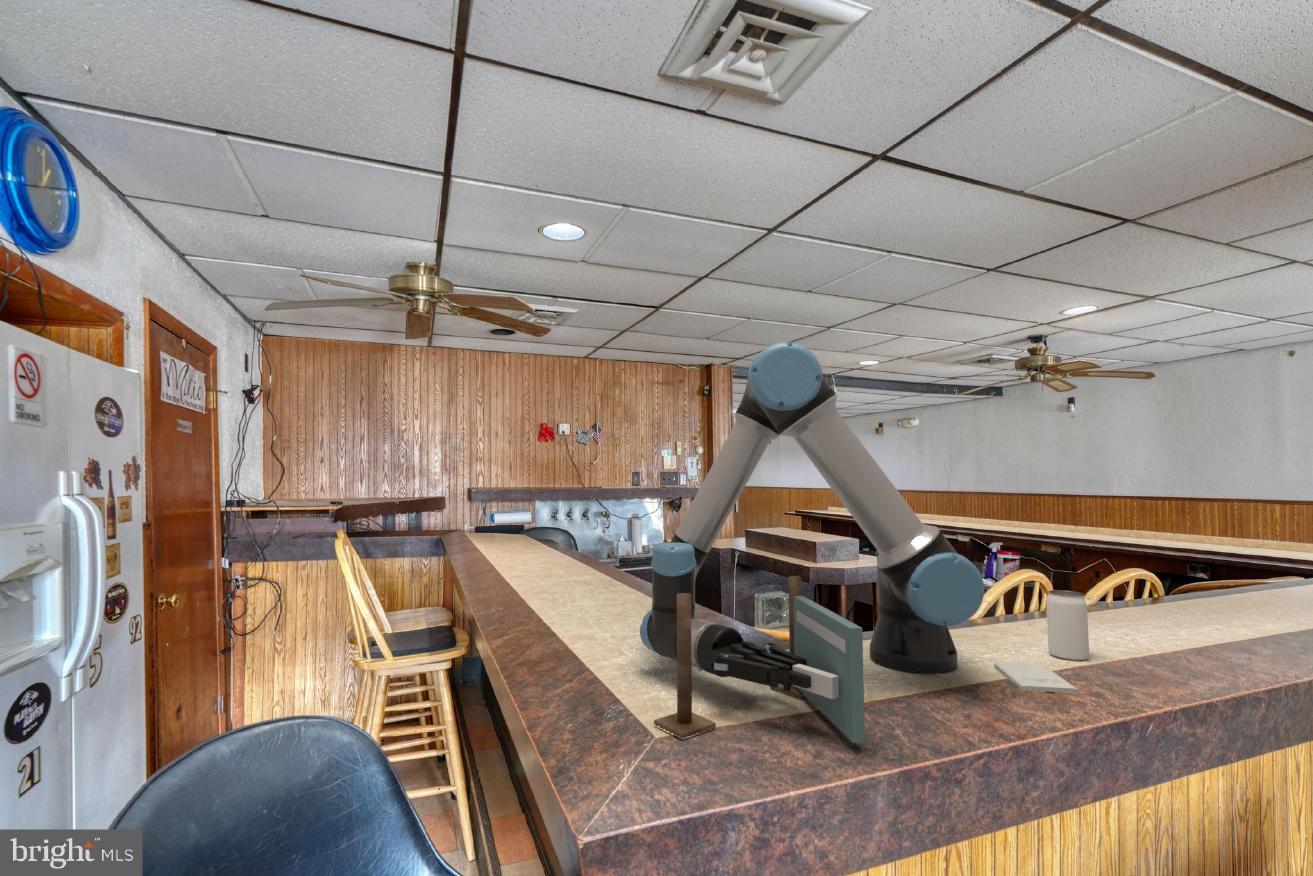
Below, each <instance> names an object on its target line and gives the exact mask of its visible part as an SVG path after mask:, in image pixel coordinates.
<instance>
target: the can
mask: <svg viewBox="0 0 1313 876" xmlns="http://www.w3.org/2000/svg"><path fill="white" fill-rule="evenodd" d="M1046 620H1047V621H1046V624H1047V643H1048V644H1047V647H1048V653H1049V654H1050V656H1052V657H1054V658H1056V659H1060V660H1066V661H1073V662H1085V661H1087V660H1088V659H1089V658H1090V645H1089V643H1090V642H1089V622H1088V603H1087V601H1086V600H1085V598H1084V593H1082V592H1078V591H1071V590H1065V589H1064V590H1063V589H1062V590H1061V589H1054V590H1053V589H1052V590H1048V595H1047V598H1046Z"/></svg>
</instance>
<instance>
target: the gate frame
mask: <svg viewBox="0 0 1313 876" xmlns="http://www.w3.org/2000/svg"><path fill="white" fill-rule="evenodd" d="M793 596H802V577H801V576H799V575H789V576H788V622H789V623H788V625H789V626H788V627H789V629H788V634H789V636H788V637H789V652H791V653H793V654H794V603H793ZM692 669H693V666H692V655H691V594H689V593H678V594H677V660H676V688H677V689H676V691H677V692H676V693H677V694H676V696H677V697H676V700H677V701H676V706H677V707H676V710H677V712H676V713H675V712H674V713H672V714H669V715H665V716H663V717H659V718H656V719H653V725H654V724H655V725H656V726H659V727H660V728H662V729H665V730H666V731H669V732H670V733H673V734H674V735H677V736H679V737H680V738H685V737H687V736H691V735H694V734H696V733H701V732H704V731H708V730H709V729H714V728H716V725H717V723H716V722H714V721H712V720H711V719H708V718H706V717H704V716H702V715H699V714H697V713H695V712H693V705H692V704H693V701H692V700H693V699H692V697H693V696H692V695H693V694H692V693H693V691H692V690H693V689H692V688H693V686H692V685H693V683H692V682H693V681H692V679H693V677H692V673H693V672H692V671H693V670H692ZM769 689H770V690H772V691H775V692H778V693H781V694H784V695H786V696H789V695H790V697H791V696H792V698H794V697H795V699H797V700H801V699H805V698H807V697H806V696H805V695H804V694H803V693H802V692H801V691H800V690H799V689H798V688H797V687H795V686H793V684H791V690H790V691H783V685H782V684H779V683H778V687H771V686H769ZM716 729H717V728H716ZM714 730H715V729H714ZM708 732H709V731H708Z"/></svg>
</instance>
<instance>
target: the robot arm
mask: <svg viewBox="0 0 1313 876" xmlns="http://www.w3.org/2000/svg"><path fill="white" fill-rule="evenodd" d="M837 398H838V395H837V393H836V392H835V390H834V389H833V388H832V387H831V385H830V384H829V383H828V381H827V380H826V378H825V377H824V376H823V370H822V367H821V364H820V361H819V360H818V358H817V357H816V355H815V354H814V353H813V352H812V351H811V350H810V349H809V348H807V347H805V346H804V345H801V344H799V343H796V342H789V341H783V342H776V343H774V344H771V345H769V346H768V347H766V348H764V349H763V350H762V351H760V353H758V354H757V356H755V357H754V359H753V360H752V362H751V364H750V365H749V368H748V372H747V382H746V386H745V389H744V393H743V396H742V398H741V401H740V403H739V405H738V407H737V409H736V411H735V413H734V420H735V423H734V424H733V426H732V429H731V431H730V433H729V434H728V436H727V438H726V440H725V442H724V443H723V445H722V447H721V449H720V451H719V452H718V454H717V456H716V458H715V459H714V462H713V463H712V465H711V467H710V469H709V471H708V473H707V474H706V475H705V478H704V480H703V481H702V484H701V485H700V487H699V489H698V491H697V493H696V494H695V496H694V498H693V500H692V502H691V503H690V505H689V507H688V509H687V510H686V513H685V514H684V516H683V517H682V520H681V522H680V523H679V525H678V528H677V529H676V531H675V533H674V535H673V536H672V537H671V540H670V542H661V543H656V544H655V545H654V546H653V547H652V558H651V562H650V566H651V581H652V582H651V584H652V586H651V587H652V588H651V591H652V592H651V593H652V596H651V597H652V599H651V601H652V602H651V603H652V604H651V610H649V611H648V612H647V613H645V614H644V616H643V618H642V622H641V624H640V626H639V636H640V640H641V641H642V643H643V645H644V646H645V647H646V648H647V649H648V650H650V651H652V652H654V653H655V654H657V655H659V656H661V657H665V658H668V659H672V660H674V661H677V594H678V593H689V594H691V655H692V667H694V668H696V670H697V671H699V672H702V671H704V672H706V673H709V674H711V675H715V676H717V677H721V678H727V677H729V678H734V679H739V680H742V681H747V682H751V683H756V684H759V685H763V686H768V687H770V686H771V687H778V683H779V684H782V685H783V691H790V690H791V684H793V686H795V687H798V688H801V689H804V690H807V691H809V692H812V693H815V694H818V695H821V696H824V697H827V698H830V699H835V698H837V697H839V676H838V675H835V674H832V673H828V672H825V671H822V670H818V669H815V668H812V667H809V666H807V659H805V658H802V657H800V656H798V655H795V654H793V653H791V652H790V651H789V650H786V649H783V648H781V647H779V646H777V644H776V643H773V642H768V643H767V645H765V647H763V646H759V645H757V644H755V643H754V642H751V641H747V640H744V639H743V637H742V635H741V634H740V632H739V631H738V630H737V629H735V628H732V627H729V626H726V625H723V624H718V623H716V622H714V621H713V622H712V621H709V620H705V619H701V618H697V617H696V600H695V599H696V578H697V575H698V573H699V571H700V569H701V567H702V566H703V564H704V562H705V560H706V558H707V556H708V554H709V552H710V550H711V548H712V547H713V545H714V543H715V541H716V539H717V538H718V536H719V534H720V532H721V530H722V529H723V527H724V525H725V523H726V521H727V519H728V518H729V516H730V515H731V513H732V511H733V510H734V507H735V505H736V504H737V502H738V500H739V498H740V496H741V494H742V492H743V491H744V490H745V488H746V485H747V484H748V482H749V480H750V479H751V477H752V475H753V473H754V472H755V469H756V468H757V466H758V464H759V462H760V460H761V459H762V457H763V455H764V454H765V452H766V450H767V447H768V446H769V444H770V442H771V441H772V440H775V439H778V438H779V437H780V436H784V437H789V438H790V437H791V438H793V439H794V440H795V441H796V443H797V444H798V445H799V447H800V448H801V449H802V451H803V452H804V454H805V455H806V456H807V458H808V459H809V460H810V461H811V463H812V464H813V465H814V467H815V468H816V469H817V471H818V472H819V473H820V475H821V477H822V478H823V479H824V480H825V482H826V483H827V484H828V486H829V487H830V488H831V490H832V491H833V492H834V494H835V496H836V497H837V498H838V499H839V500H840V501H841V503H842V505H843V506H844V508H846V510H847V511H848V513H849V514H850V516H851V517H852V518H853V520H854V521H855V522H856V523H857V525H858V526H859V528H860V529H861V530H862V531H863V533H864V535H866V537H867V538H868V540H869V541H870V543H871V544H872V545H873V547H875V549H876V552H875V557H876V569H877V572H876V573H877V576H876V577H877V599H878V600H877V603H878V606H877V607H878V610H877V611H878V617H877V620H876V624H875V627H874V630H873V633H872V636H871V638H870V639H871V640H870V643H869V657H870V659H871V660H872V661H874V663H876V664H879V665H881V666H883V667H884V666H885V667H886V668H887V667H888V668H890V669H895V670H899V671H905V672H912V673H913V672H914V673H921V674H922V673H925V674H926V673H927V674H928V673H929V674H931V673H932V674H935V673H936V674H937V673H947V672H951V671H954V670H956V669H957V668H958V667H959V663H958V662H959V659H958V656H959V655H958V651H957V648H956V646H955V643H954V641H953V638H952V635H951V632H950V629H949V627H951V626H957V625H960V624H963V623H964V622H967V621H968V620H970V619H971V618H972V617H973V616H975V614H976V613H978V611H979V609H980V608H981V606H982V603H983V599H984V595H985V582H984V579H983V576H982V574H981V572H980V571H979V569H978V567H977V566H976V565H975V564H974V563H973V562H972V561H971V560H969V558H967V557H965V556H964V555H962V554H959V553H958V552H957V551H956V550H955V548H954V547H953V545H952V544H951V543H950V541H949V540H948V539H947V538H946V536H945V535H944V534H943V533H942V531H941V529H939V528H938V526H935V525H929V524H925V523H923V522H922V521H921V519H920V518H919V516H918V515H917V514H916V513H915V511H914V510H913V508H912V507H911V506H910V505H909V504H908V502H907V501H906V500H905V498H904V497H903V496H902V494H901V493H900V492H899V490H898V489H897V487H896V486H895V485H894V484H893V482H892V480H890V479H889V477H888V475H887V474H886V473H885V471H884V470H883V469H882V467H880V465H879V464H878V463H877V461H876V460H875V458H874V457H873V456H872V455H871V453H870V452H869V451H868V449H867V448H866V446H865V445H864V444H863V443H862V442H861V440H860V439H859V437H858V436H857V435H856V434H855V433H854V431H853V429H852V428H851V427H850V425H849V424H848V423H847V422H846V421H845V419H844V418H843V417H842V415H841V414H840V412H839V411H838V410H837V406H836V405H837Z"/></svg>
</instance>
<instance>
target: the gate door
mask: <svg viewBox="0 0 1313 876" xmlns="http://www.w3.org/2000/svg"><path fill="white" fill-rule="evenodd" d="M793 603H794V654H795V655H798V656H800V657H802V658H805V659H807V666H809V667H812V668H815V669H818V670H822V671H825V672H828V673H832V674H835V675H838V676H839V697H837V698H835V699H830V698H827V697H824V696H821V695H818V694H815V693H812V692H809V691H807V690H804V689H801V688H798V687H797V688H798V689H799V690H800V691H801V692H802V693H803V694H804V695H805V696H806V697H805V698H807V700H809V701H810V702H811V704H813V705H814V707H816V708H817V709H818V711H820V712H821V713H822V714H823V715H824V716H825V717H826V718H827V719H828V720H829V721H830V722H831V723H832V724H833V725H834V726H835V727H836V728H837V729H838V730H839V731H840V732H841V733H842V734H843V735H844V736H845V737H846V739H848V740H849V741H850V742H851V743H853V744H854V743H855V744H857V743H858V744H859V743H866V728H865V724H866V723H865V722H866V721H865V687H864V686H865V685H864V681H865V679H864V646H863V645H864V643H863V642H864V640H863V637H864V636H863V627H861V626H859V625H857V623H853V622H852V621H850V620H849V619H846V618H845V617H842V616H841V615H839V614H838V613H835V612H834V611H831V610H830V609H828V608H826V607H824V606H822V605H820V604H819V603H817V602H815V601H813V600H812V599H810V598H808V597H806V596H804V595H801V596H793Z"/></svg>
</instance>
